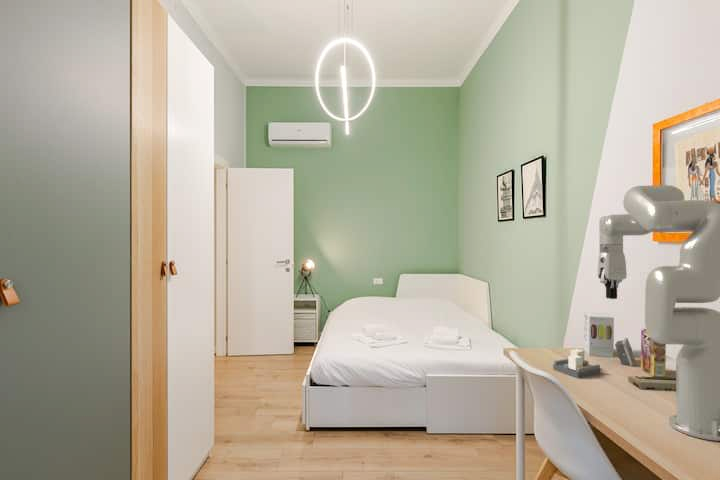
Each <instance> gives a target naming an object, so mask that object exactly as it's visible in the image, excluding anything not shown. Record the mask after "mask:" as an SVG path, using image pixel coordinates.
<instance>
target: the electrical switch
mask: <svg viewBox="0 0 720 480" xmlns="http://www.w3.org/2000/svg"><path fill="white" fill-rule="evenodd" d="M614 345H615V349H616V352H617V355H618V358H619V361H620V363H621V365H629V366H630V367H633V366H634V365H635V362H636V359H635V358H636V357H635V356H634V353H633V350H632V349H633V348H632V346H631V344H630V341H629V338H628V337H624V339H623V340H617V341H616V343H615V344H614Z"/></svg>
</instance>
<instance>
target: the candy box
mask: <svg viewBox="0 0 720 480" xmlns="http://www.w3.org/2000/svg"><path fill="white" fill-rule="evenodd" d="M640 330H641V331H640V333H641V334H640V335H641V336H640V338H641V339H640V341H641V342H640V369H641V370H642V371H644V372H645V373H647V374H649V375H651V377H666V363H667V362H666V358H667V357H666V354H667V344H660V343H656V342H654V341H653V340H651V339H650V337H649V336H648V334H647V332H646V328H641V329H640Z"/></svg>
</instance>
